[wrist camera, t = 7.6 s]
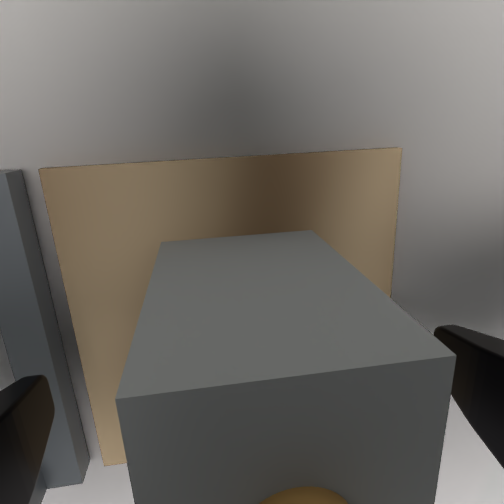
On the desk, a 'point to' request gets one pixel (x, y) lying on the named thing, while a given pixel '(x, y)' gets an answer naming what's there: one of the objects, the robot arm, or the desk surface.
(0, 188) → the grey square frame
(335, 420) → the cable plug
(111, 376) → the cork pad
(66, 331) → the desk surface
